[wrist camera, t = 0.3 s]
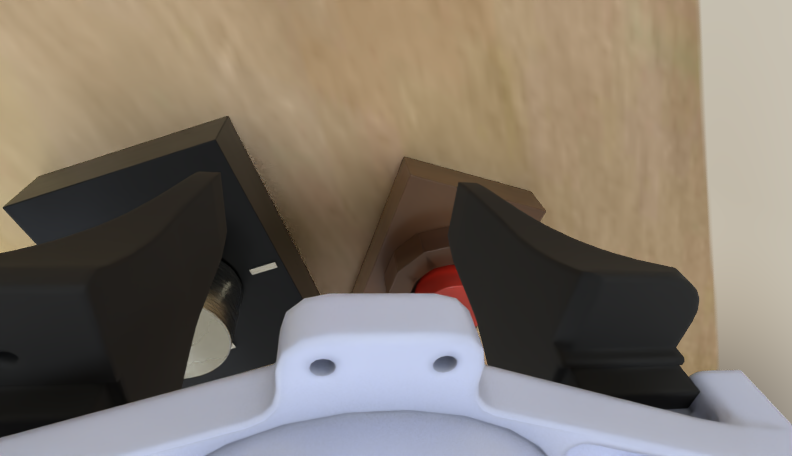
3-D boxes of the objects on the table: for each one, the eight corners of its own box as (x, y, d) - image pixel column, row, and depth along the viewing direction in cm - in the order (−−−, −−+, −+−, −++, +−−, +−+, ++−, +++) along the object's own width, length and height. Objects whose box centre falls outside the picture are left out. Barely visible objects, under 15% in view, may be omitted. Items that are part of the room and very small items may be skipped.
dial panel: (329, 312, 30) (329, 349, 27) (186, 354, 30) (173, 395, 27) (228, 115, 22) (214, 140, 19) (37, 176, 22) (-1, 209, 20)
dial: (260, 309, 25) (249, 366, 22) (171, 335, 25) (148, 396, 22) (213, 236, 22) (193, 289, 19) (113, 266, 22) (76, 324, 19)
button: (462, 318, 26) (470, 341, 25) (405, 308, 25) (409, 331, 24) (489, 271, 25) (499, 293, 23) (428, 258, 24) (435, 280, 22)
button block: (456, 324, 32) (471, 370, 28) (346, 305, 29) (349, 353, 26) (531, 191, 26) (560, 229, 23) (404, 156, 24) (415, 192, 21)
